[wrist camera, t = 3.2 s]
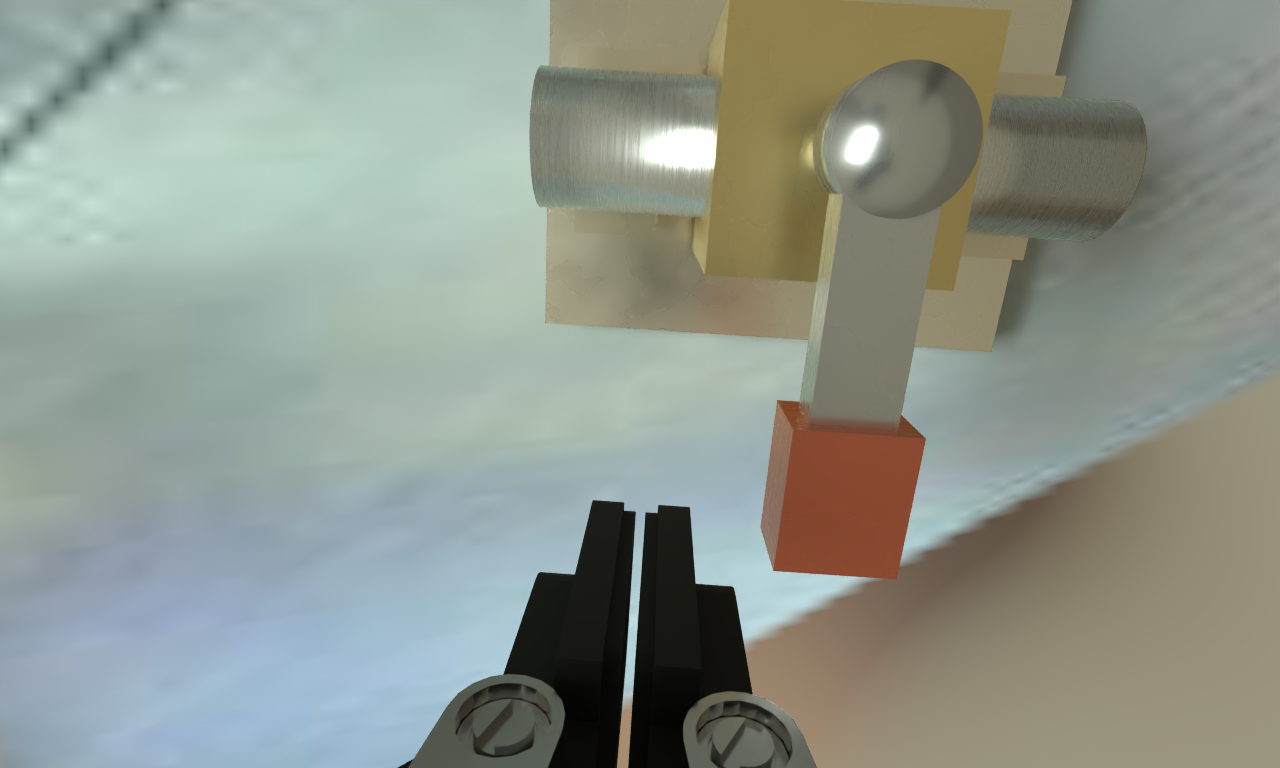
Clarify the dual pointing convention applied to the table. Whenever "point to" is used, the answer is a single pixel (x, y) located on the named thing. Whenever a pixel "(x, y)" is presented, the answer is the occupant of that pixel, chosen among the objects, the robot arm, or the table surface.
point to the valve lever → (867, 321)
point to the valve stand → (796, 156)
